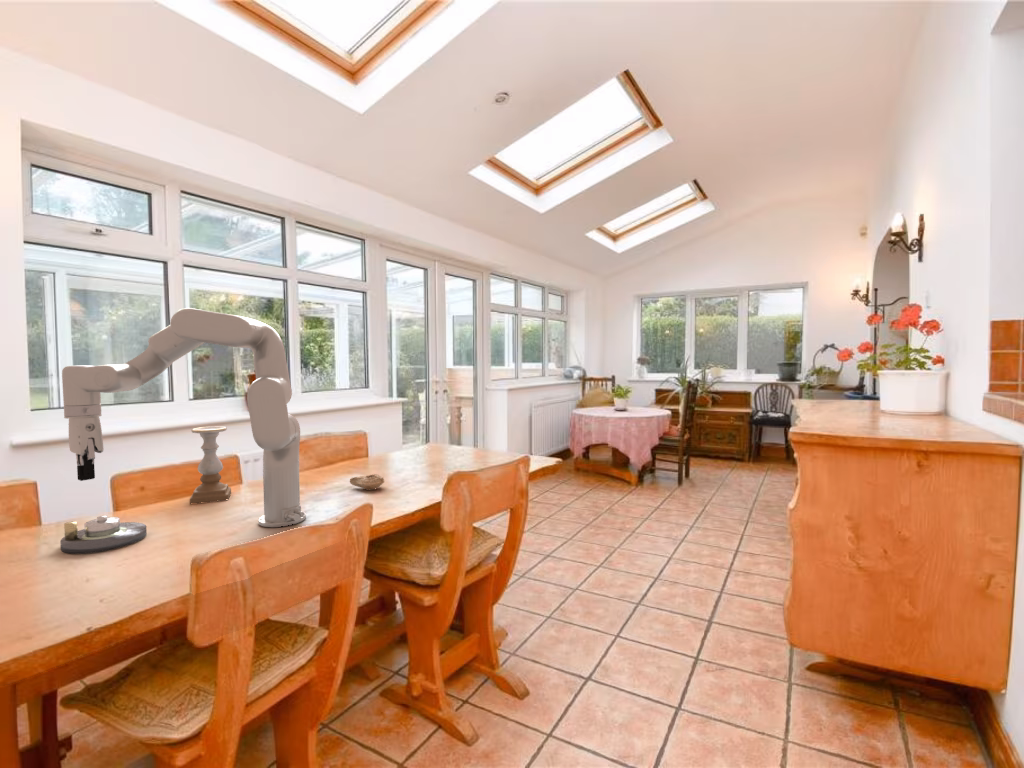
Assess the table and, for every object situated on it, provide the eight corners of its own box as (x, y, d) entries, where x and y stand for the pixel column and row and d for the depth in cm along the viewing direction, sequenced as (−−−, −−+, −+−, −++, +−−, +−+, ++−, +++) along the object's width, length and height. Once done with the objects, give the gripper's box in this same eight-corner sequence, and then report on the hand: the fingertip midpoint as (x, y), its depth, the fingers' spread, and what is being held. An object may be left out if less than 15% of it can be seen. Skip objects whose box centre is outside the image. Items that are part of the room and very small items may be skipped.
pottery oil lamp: (354, 484, 184) (363, 466, 186) (381, 497, 181) (390, 479, 182) (343, 481, 176) (352, 463, 178) (370, 495, 173) (380, 476, 174)
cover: (124, 531, 128) (124, 515, 127) (90, 539, 122) (90, 522, 122) (114, 526, 132) (113, 510, 131) (80, 534, 126) (79, 517, 125)
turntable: (158, 537, 129) (157, 514, 129) (74, 559, 115) (73, 534, 115) (131, 525, 138) (130, 504, 138) (50, 544, 124) (49, 520, 124)
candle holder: (194, 495, 169) (192, 427, 168) (231, 492, 174) (229, 425, 173) (189, 504, 159) (187, 431, 158) (228, 500, 164) (226, 429, 163)
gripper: (110, 411, 130) (114, 480, 131) (90, 408, 139) (94, 473, 140) (74, 414, 124) (77, 486, 125) (55, 411, 132) (59, 478, 133)
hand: (86, 479), depth 132 cm, fingers closed
